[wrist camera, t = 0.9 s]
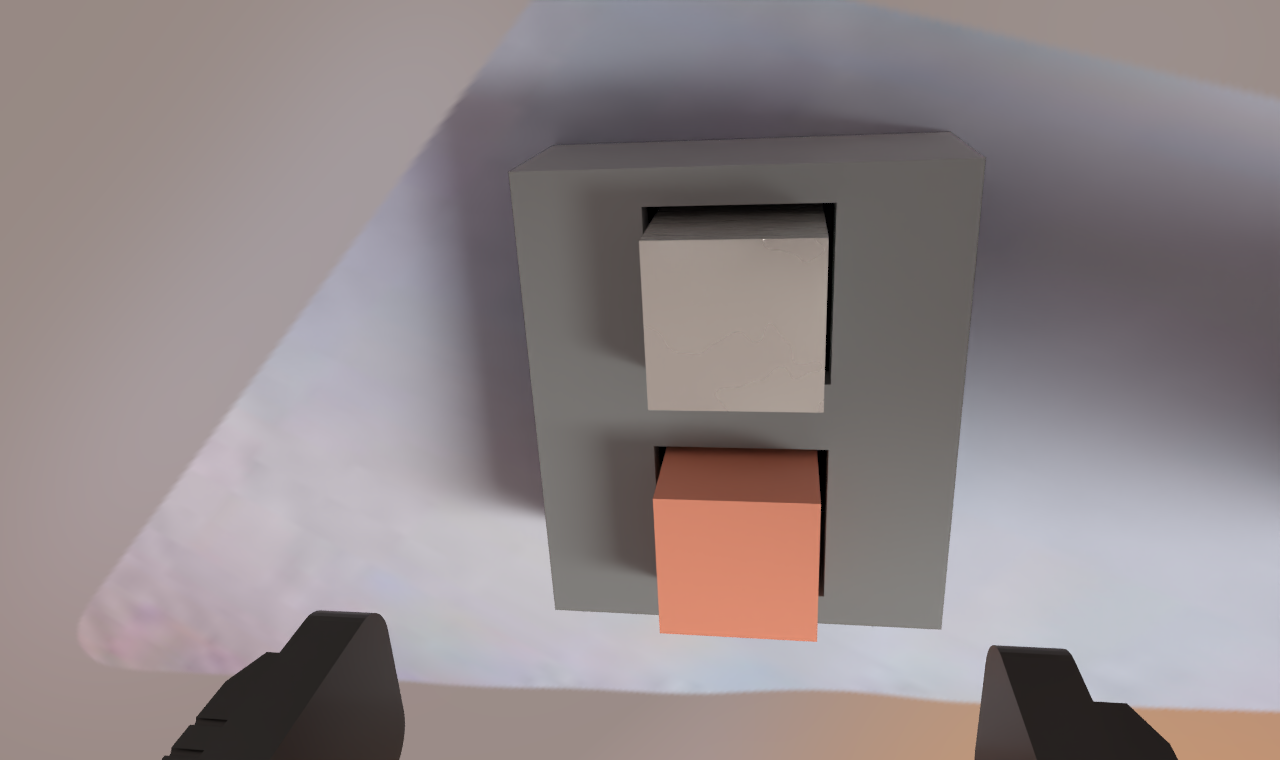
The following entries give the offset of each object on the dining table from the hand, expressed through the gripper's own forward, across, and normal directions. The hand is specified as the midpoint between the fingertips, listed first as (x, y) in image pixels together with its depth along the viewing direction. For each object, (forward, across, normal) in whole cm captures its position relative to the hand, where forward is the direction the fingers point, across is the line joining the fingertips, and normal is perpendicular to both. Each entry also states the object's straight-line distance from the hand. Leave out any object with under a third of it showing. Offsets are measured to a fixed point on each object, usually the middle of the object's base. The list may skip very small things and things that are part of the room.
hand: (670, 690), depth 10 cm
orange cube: (+17, 0, +7) cm, 18 cm away
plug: (+17, 0, 0) cm, 17 cm away
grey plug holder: (+20, 0, +4) cm, 20 cm away
